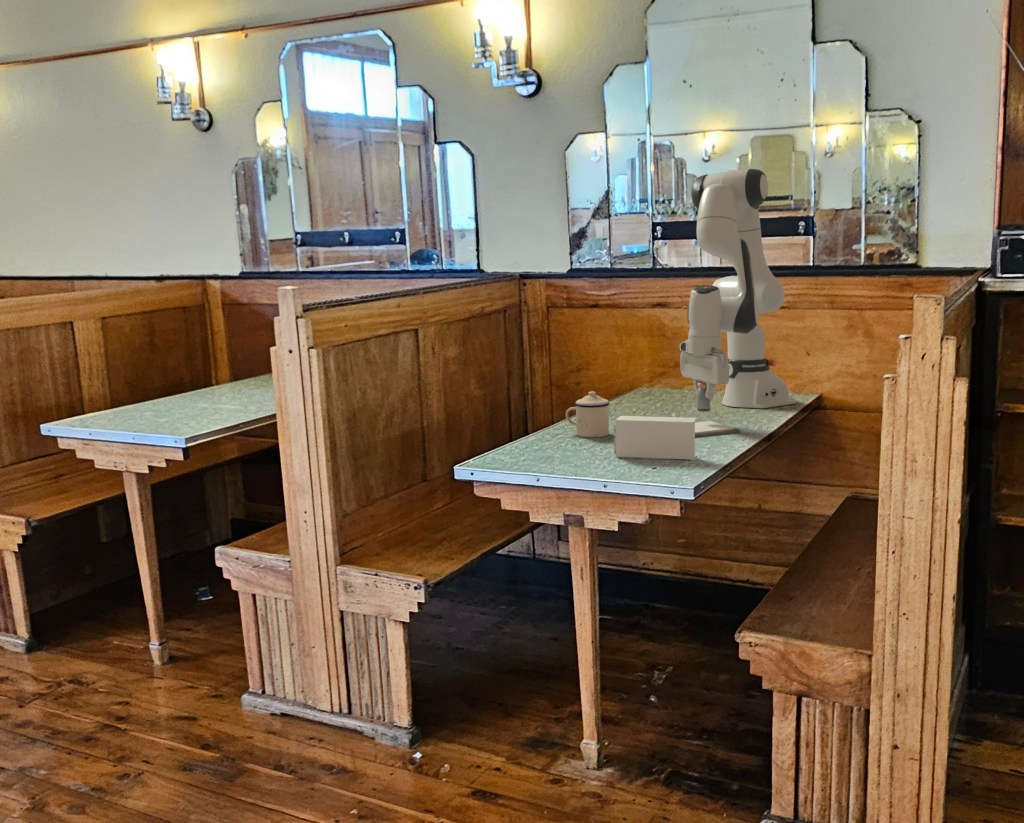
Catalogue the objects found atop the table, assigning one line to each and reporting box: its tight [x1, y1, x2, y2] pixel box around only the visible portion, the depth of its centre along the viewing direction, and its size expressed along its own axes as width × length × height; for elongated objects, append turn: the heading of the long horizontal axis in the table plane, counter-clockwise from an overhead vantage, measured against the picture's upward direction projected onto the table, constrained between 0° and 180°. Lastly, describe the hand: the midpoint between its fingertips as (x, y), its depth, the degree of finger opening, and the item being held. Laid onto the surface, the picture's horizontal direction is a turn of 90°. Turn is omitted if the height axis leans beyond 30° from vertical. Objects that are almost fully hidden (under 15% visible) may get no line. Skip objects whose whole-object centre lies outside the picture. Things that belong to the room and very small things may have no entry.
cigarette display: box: [613, 415, 698, 461], centre depth 252 cm, size 20×6×9 cm, turn 72°
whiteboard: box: [695, 420, 741, 438], centre depth 281 cm, size 25×14×1 cm, turn 110°
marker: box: [696, 381, 711, 412], centre depth 285 cm, size 4×4×8 cm
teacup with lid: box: [565, 391, 610, 439], centre depth 281 cm, size 12×9×12 cm
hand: (704, 397), depth 285 cm, fingers closed on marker, 3 cm apart
